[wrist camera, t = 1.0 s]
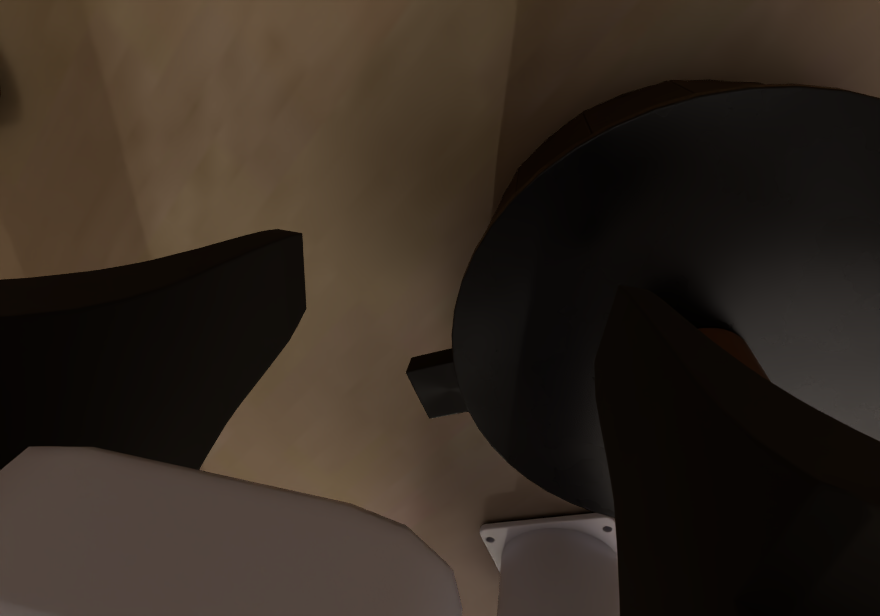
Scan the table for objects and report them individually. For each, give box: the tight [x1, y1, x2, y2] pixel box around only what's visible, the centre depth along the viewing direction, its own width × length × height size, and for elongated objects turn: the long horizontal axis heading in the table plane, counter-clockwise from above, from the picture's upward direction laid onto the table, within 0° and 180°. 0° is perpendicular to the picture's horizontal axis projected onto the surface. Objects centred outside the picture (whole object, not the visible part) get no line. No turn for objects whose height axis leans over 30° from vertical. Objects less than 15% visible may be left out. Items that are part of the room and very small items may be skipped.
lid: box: [452, 84, 880, 518], centre depth 14 cm, size 15×15×5 cm
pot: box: [406, 80, 764, 419], centre depth 18 cm, size 14×20×6 cm
